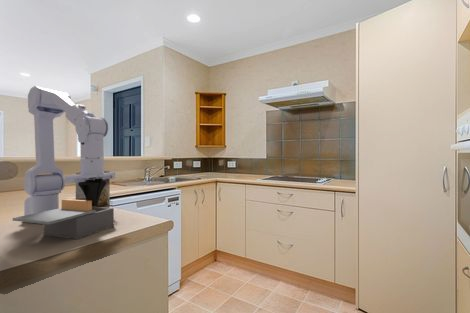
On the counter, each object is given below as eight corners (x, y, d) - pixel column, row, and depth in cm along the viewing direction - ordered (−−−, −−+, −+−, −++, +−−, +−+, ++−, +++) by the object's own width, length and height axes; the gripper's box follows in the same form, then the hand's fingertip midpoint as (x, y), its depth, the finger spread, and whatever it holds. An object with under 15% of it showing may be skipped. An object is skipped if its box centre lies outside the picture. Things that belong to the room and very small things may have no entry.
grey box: (43, 235, 63) (43, 215, 63) (84, 223, 75) (83, 206, 75) (76, 239, 60) (76, 218, 60) (113, 226, 71) (113, 208, 71)
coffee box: (90, 220, 77) (90, 172, 77) (74, 219, 79) (74, 172, 79) (110, 214, 86) (110, 170, 86) (95, 213, 88) (95, 170, 88)
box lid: (12, 220, 57) (12, 207, 57) (63, 209, 68) (63, 198, 68) (48, 224, 53) (48, 210, 53) (95, 212, 65) (95, 200, 65)
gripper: (79, 158, 58) (79, 212, 58) (122, 158, 72) (123, 201, 72) (58, 159, 60) (59, 210, 60) (105, 158, 74) (105, 200, 74)
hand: (92, 205), depth 66 cm, fingers closed
